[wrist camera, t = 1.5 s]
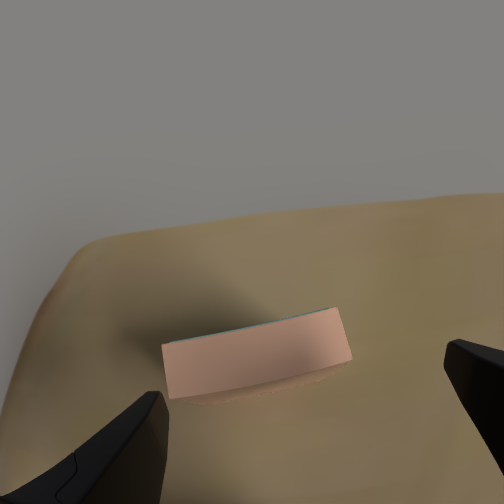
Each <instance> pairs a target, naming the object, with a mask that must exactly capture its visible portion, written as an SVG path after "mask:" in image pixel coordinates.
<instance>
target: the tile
mask: <svg viewBox="0 0 504 504" xmlns="http://www.w3.org/2000/svg"><path fill="white" fill-rule="evenodd" d="M162 353H163V360H164V367H165V374H166V381H167V388H168V394H169V399H172V400H177V401H183V402H189V403H195V404H202V405H210V404H216V403H222V402H228V401H233V400H239V399H244V398H249V397H254V396H259V395H263V394H268V393H273V392H277V391H281V390H286V389H290V388H294V387H298V386H302V385H306V384H310V383H313V382H317V381H321V380H324V379H326V378H328V377H329V376H330V375H332V374H333V373H335V372H336V371H338V370H339V369H340V368H342V367H343V366H345V365H346V364H347V363H349V362H350V361H352V360H353V358H352V355H351V351H350V348H349V345H348V341H347V338H346V335H345V331H344V328H343V325H342V322H341V318H340V315H339V312H338V309H337V307H335V308H331V309H329V308H326V309H322V310H318V311H314V312H310V313H306V314H302V315H297V316H293V317H289V318H285V319H281V320H276V321H272V322H267V323H263V324H258V325H254V326H249V327H244V328H240V329H235V330H230V331H225V332H220V333H215V334H210V335H205V336H200V337H194V338H189V339H183V340H178V341H172V342H169V343H168V344H162Z"/></svg>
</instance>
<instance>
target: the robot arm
mask: <svg viewBox="0 0 504 504" xmlns="http://www.w3.org/2000/svg"><path fill="white" fill-rule="evenodd" d="M444 369H445V371H446V373H447V375H448V377H449V379H450V381H451V383H452V385H453V387H454V389H455V391H456V393H457V395H458V397H459V399H460V401H461V403H462V405H463V407H464V408H465V410H466V411H467V413H468V415H469V416H470V418H471V420H472V421H473V423H474V424H475V426H476V428H477V429H478V431H479V433H480V434H481V436H482V438H483V440H484V441H485V443H486V445H487V446H488V448H489V450H490V452H491V453H492V455H493V457H494V459H495V461H496V462H497V464H498V466H499V468H500V470H501V472H502V473H503V475H504V351H502V350H498V349H494V348H491V347H487V346H483V345H480V344H476V343H472V342H469V341H465V340H462V339H456V340H453V341H450V342H449V343H448V344H447V348H446V353H445V358H444ZM168 431H169V412H168V409H167V406H166V403H165V400H164V397H163V395H162V393H161V392H160V391H148V392H146V393H145V394H144V395H142V396H141V397H140V398H139V399H138V400H136V401H135V402H134V403H133V404H132V405H130V406H129V407H128V408H127V409H126V410H124V411H123V412H122V413H121V414H120V415H118V416H117V417H116V418H115V419H113V420H112V421H111V422H110V423H109V424H107V425H106V426H105V427H104V428H102V429H101V430H100V431H99V432H97V433H96V434H95V435H94V436H92V437H91V438H90V439H89V440H87V441H86V442H85V443H84V444H82V445H81V446H80V447H79V448H77V449H76V450H75V451H74V452H72V453H71V454H70V455H68V456H67V457H66V458H65V459H63V460H62V461H61V462H59V463H58V464H56V465H55V466H54V467H52V468H51V469H49V470H48V471H46V472H45V473H43V474H42V475H40V476H38V477H37V478H35V479H33V480H32V481H30V482H28V483H27V484H25V485H23V486H22V487H20V488H18V489H16V490H15V491H13V492H11V493H9V494H6V495H4V496H0V504H159V502H160V496H161V490H162V484H163V479H164V473H165V468H166V461H167V449H168Z"/></svg>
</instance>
